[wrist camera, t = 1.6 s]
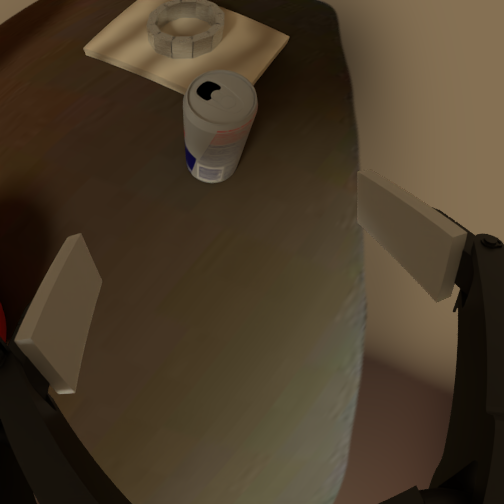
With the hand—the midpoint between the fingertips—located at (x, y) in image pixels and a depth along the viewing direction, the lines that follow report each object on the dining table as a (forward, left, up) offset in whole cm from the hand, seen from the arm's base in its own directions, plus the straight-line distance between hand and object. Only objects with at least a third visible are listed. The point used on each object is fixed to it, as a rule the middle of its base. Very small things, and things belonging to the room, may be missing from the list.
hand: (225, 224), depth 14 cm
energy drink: (-5, +9, -17) cm, 20 cm away
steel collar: (-17, +22, -15) cm, 31 cm away
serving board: (-17, +22, -17) cm, 32 cm away
